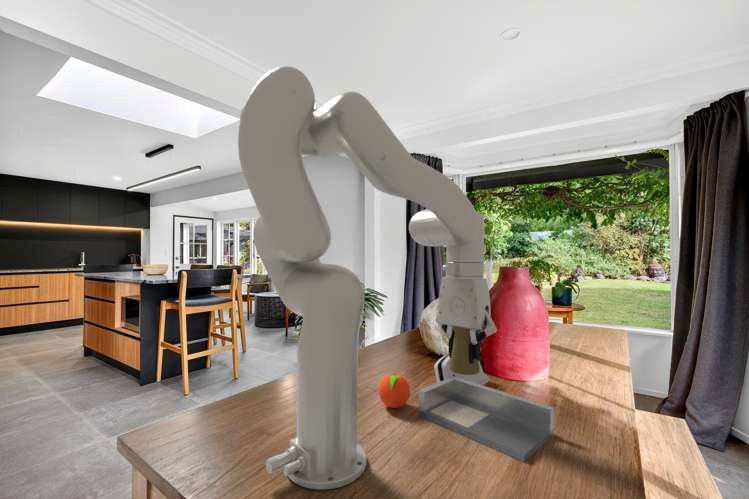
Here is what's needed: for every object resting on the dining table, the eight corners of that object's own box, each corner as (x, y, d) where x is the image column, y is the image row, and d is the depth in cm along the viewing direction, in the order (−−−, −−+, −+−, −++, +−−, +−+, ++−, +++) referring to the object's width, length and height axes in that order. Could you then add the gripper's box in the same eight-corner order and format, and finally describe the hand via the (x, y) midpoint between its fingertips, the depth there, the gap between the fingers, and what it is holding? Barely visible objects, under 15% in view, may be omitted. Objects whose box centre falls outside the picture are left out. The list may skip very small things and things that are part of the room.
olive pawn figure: (459, 363, 78) (459, 312, 78) (485, 369, 73) (485, 316, 73) (443, 369, 73) (444, 316, 73) (469, 377, 69) (470, 320, 69)
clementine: (407, 417, 72) (407, 382, 72) (374, 414, 74) (374, 379, 74) (411, 401, 80) (412, 370, 80) (381, 398, 82) (382, 367, 82)
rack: (524, 462, 58) (524, 429, 58) (418, 415, 73) (418, 390, 73) (554, 434, 67) (554, 406, 67) (454, 398, 82) (454, 375, 82)
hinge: (456, 401, 82) (444, 356, 84) (440, 401, 85) (429, 359, 87) (491, 382, 93) (479, 344, 96) (475, 384, 97) (465, 347, 99)
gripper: (421, 269, 77) (421, 354, 77) (493, 274, 65) (492, 374, 65) (442, 268, 82) (441, 348, 82) (512, 272, 70) (511, 365, 70)
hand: (464, 358), depth 73 cm, fingers closed on olive pawn figure, 3 cm apart
